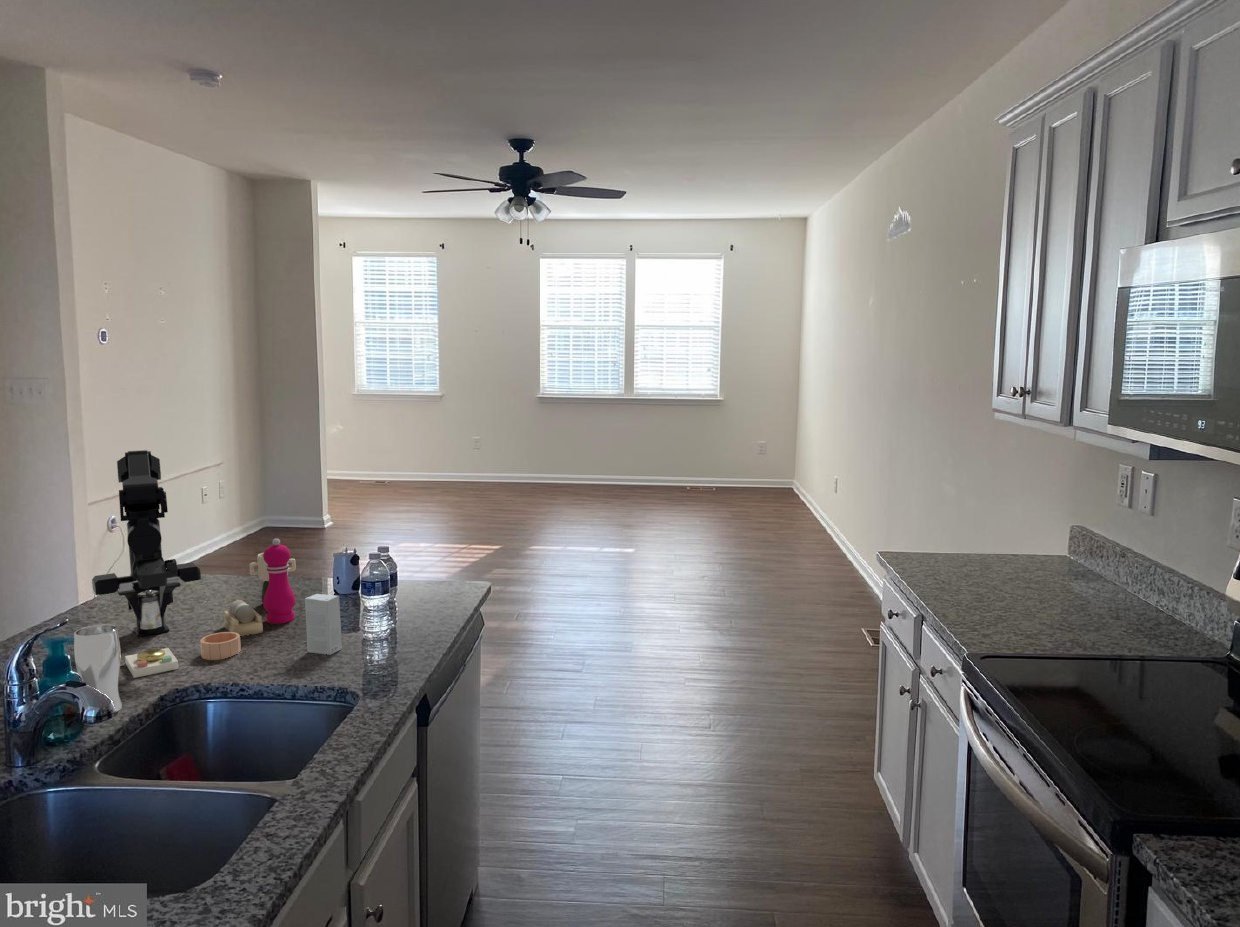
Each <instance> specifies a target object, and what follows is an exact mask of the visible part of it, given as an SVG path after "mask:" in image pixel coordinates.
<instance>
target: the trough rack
mask: <svg viewBox="0 0 1240 927" xmlns="http://www.w3.org/2000/svg"><path fill="white" fill-rule="evenodd" d="M262 619H263V618H262V615H260V614H259V613H258V612H257V611H256V610H254V608H253V607H252V606H250V605H249V604H248V603H246V602H245V601H244V600H241V599H237V600H234V601H233V602H231V604H230V606H229V611H228V610H223V627H224V628H225V629H226V630H227V632H234V633H238V634H239V635H240V636H242V637H245V636H244V635H247V636H250V635H249V634H252V635H256V634H261V633H264V629H263V628H264V626H263V620H262Z"/></svg>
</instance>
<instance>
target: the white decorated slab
mask: <svg viewBox="0 0 1240 927" xmlns="http://www.w3.org/2000/svg"><path fill="white" fill-rule="evenodd" d="M160 649H161V650H164V651H165V656H164V657H161V659H158V660H155V661H149V662H147V661H146V660H144V661H138V660H137V655H138V654H139V653H135V654H129V655H125V657H124V658H125V660H124V661H125V664H126V667H127V668H128V670H129V672H130V674H131V675H132V678H134V679H135V678H140V677H145V676H151V675H155V674H159V673H164V672H165V673H166V672H169V671H174V670H178V669H179V668H180V667H179V661H178V659H177V658H176V656H175V655H174V653H173V652H172V651H171V650H170V648H169V647H165V648H160Z"/></svg>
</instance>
